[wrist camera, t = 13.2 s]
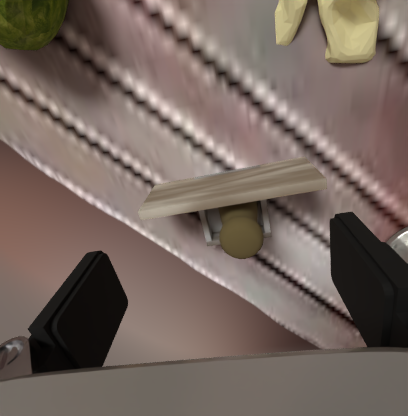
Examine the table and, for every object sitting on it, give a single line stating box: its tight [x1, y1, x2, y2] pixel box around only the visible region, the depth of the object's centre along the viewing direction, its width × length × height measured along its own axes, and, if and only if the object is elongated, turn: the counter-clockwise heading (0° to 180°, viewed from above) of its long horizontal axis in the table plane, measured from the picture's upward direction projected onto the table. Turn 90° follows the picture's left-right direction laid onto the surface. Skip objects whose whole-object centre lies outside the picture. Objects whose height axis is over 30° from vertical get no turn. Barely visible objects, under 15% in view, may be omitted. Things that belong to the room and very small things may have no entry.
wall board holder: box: [138, 157, 327, 246], centre depth 37 cm, size 10×22×9 cm, turn 103°
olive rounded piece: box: [218, 201, 264, 259], centre depth 35 cm, size 6×6×11 cm
